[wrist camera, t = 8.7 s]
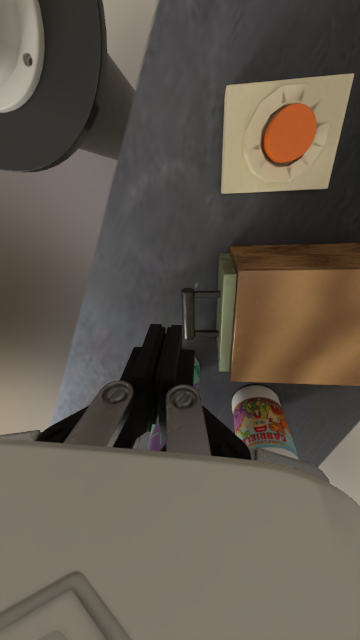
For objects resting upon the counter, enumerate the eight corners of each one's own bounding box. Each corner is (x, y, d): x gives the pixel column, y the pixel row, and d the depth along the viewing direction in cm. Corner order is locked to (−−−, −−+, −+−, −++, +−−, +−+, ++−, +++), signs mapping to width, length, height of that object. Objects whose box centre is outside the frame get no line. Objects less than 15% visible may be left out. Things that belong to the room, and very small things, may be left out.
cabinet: (224, 334, 34) (230, 381, 26) (229, 245, 28) (239, 270, 20) (329, 335, 33) (372, 386, 24) (360, 242, 26) (431, 268, 18)
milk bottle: (284, 406, 40) (344, 572, 23) (243, 419, 43) (269, 577, 26) (266, 377, 37) (319, 541, 20) (223, 393, 40) (237, 550, 23)
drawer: (186, 333, 34) (182, 370, 27) (183, 253, 28) (177, 275, 21) (316, 335, 32) (346, 375, 25) (341, 250, 26) (388, 272, 19)
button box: (221, 193, 25) (223, 194, 22) (224, 93, 21) (228, 75, 18) (318, 188, 24) (337, 188, 21) (341, 83, 20) (368, 62, 17)
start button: (260, 164, 21) (265, 162, 19) (266, 111, 19) (271, 104, 17) (303, 161, 20) (310, 159, 19) (312, 107, 19) (322, 100, 17)
